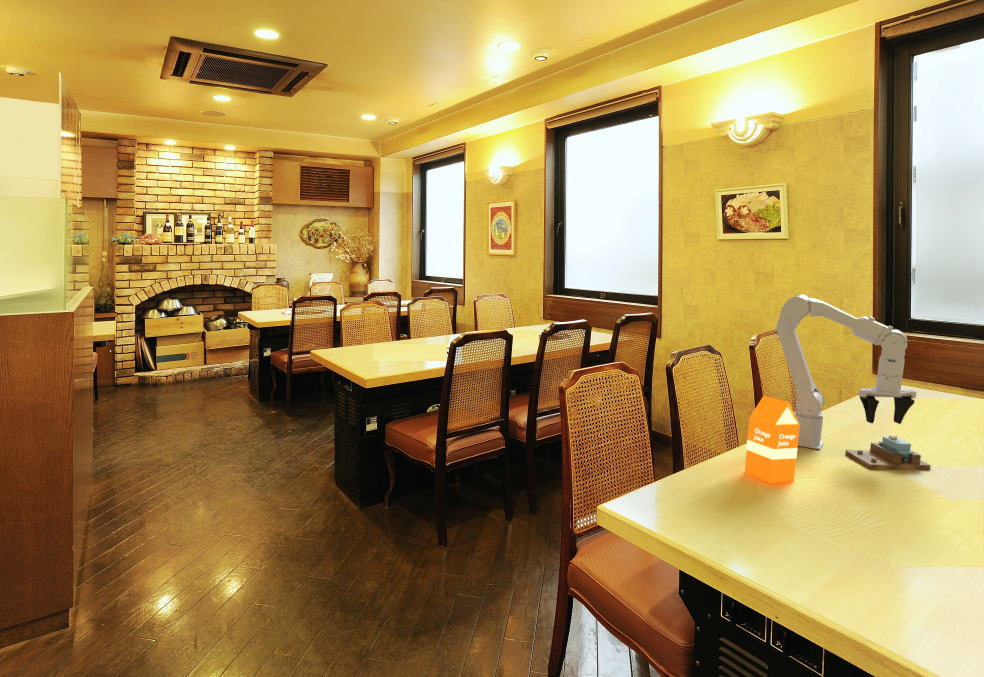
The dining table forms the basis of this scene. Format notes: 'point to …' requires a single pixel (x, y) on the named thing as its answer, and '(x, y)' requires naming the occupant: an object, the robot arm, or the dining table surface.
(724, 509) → the dining table surface
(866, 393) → the robot arm
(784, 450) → the orange juice
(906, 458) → the block
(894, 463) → the board
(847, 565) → the dining table surface
